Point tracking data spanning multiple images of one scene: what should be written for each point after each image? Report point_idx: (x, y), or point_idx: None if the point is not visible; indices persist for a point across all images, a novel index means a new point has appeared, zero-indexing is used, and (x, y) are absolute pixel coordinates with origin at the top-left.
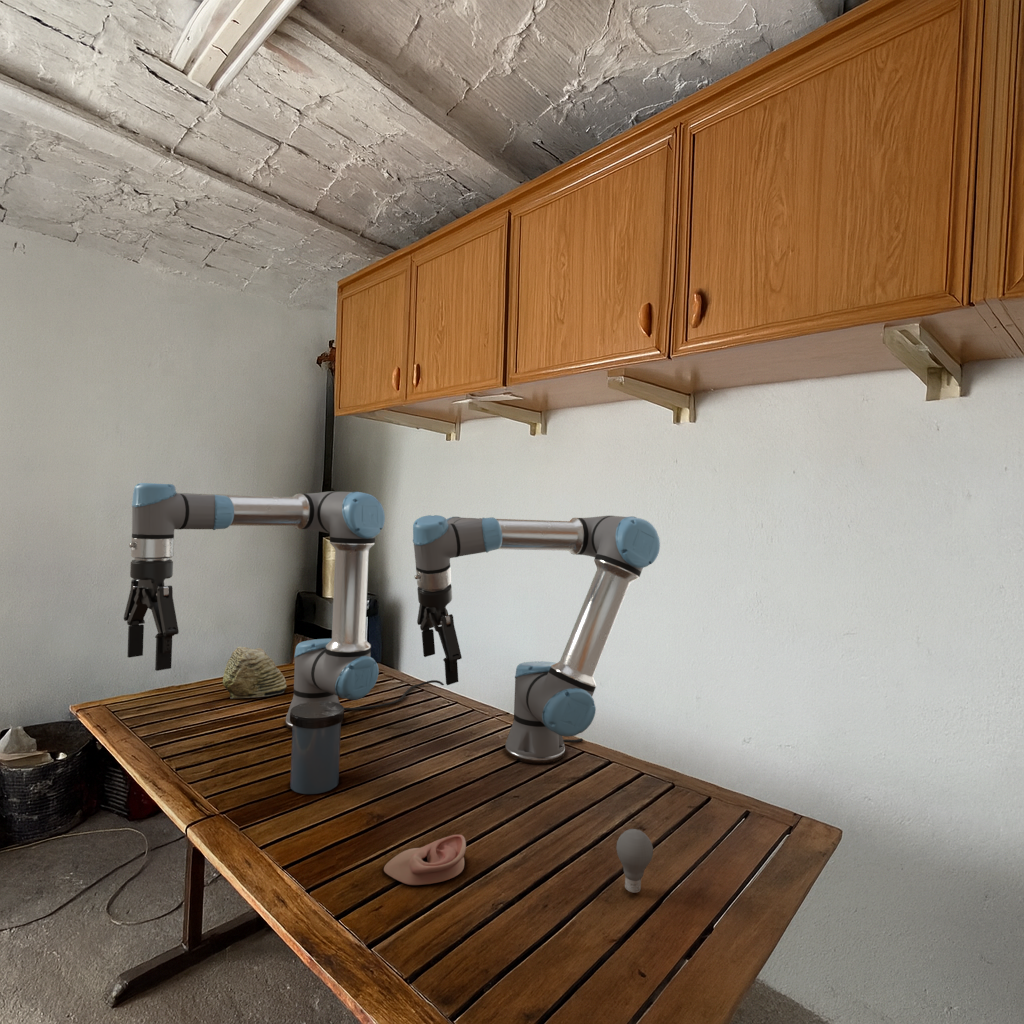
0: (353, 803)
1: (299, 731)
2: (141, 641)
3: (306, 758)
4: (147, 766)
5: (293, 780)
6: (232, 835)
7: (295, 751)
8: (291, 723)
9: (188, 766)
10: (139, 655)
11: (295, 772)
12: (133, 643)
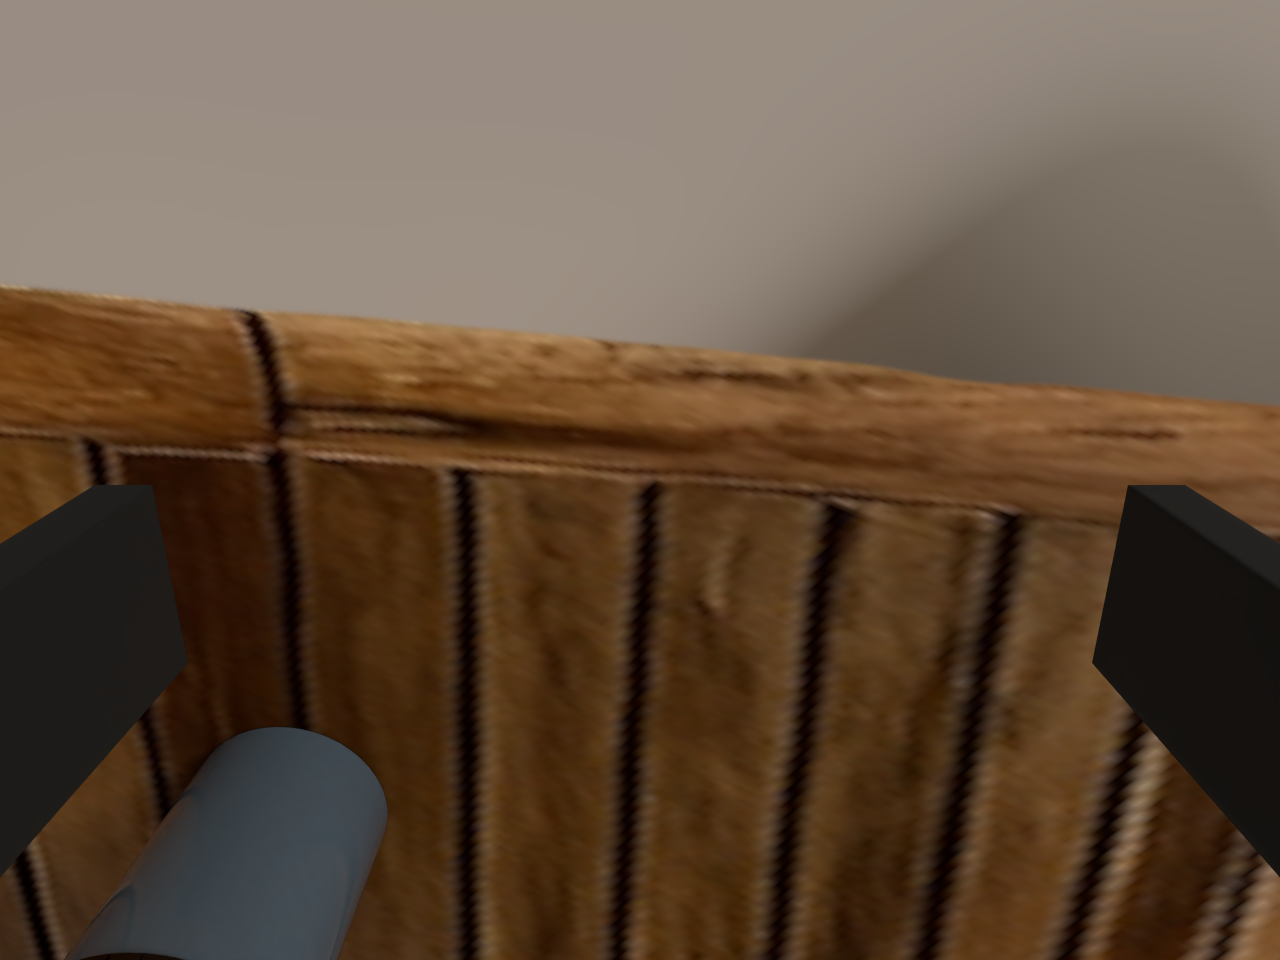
0: None
1: (120, 938)
2: (1231, 785)
3: (151, 848)
4: (979, 432)
5: (268, 753)
6: (60, 399)
7: (203, 848)
8: (168, 956)
9: (829, 557)
10: (1104, 626)
11: (240, 779)
12: (1254, 652)
